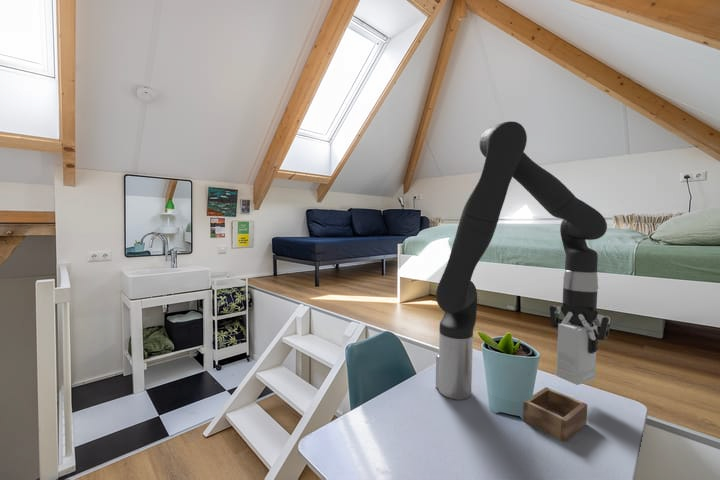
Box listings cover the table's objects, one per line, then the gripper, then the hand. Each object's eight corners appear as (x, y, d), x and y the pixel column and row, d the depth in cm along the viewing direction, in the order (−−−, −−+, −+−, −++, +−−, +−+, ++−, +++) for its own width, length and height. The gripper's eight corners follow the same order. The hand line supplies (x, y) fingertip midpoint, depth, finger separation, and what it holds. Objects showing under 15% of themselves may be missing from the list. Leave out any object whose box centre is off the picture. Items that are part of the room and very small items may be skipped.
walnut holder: (522, 420, 78) (523, 401, 77) (545, 405, 84) (546, 387, 84) (565, 442, 70) (566, 421, 69) (586, 424, 76) (587, 404, 76)
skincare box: (573, 371, 89) (575, 319, 89) (596, 380, 84) (598, 325, 83) (554, 376, 85) (556, 322, 85) (578, 386, 80) (580, 328, 80)
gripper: (544, 284, 87) (542, 342, 88) (607, 294, 75) (603, 361, 76) (557, 281, 92) (555, 337, 93) (618, 290, 80) (615, 354, 81)
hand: (577, 348), depth 84 cm, fingers closed on skincare box, 6 cm apart
